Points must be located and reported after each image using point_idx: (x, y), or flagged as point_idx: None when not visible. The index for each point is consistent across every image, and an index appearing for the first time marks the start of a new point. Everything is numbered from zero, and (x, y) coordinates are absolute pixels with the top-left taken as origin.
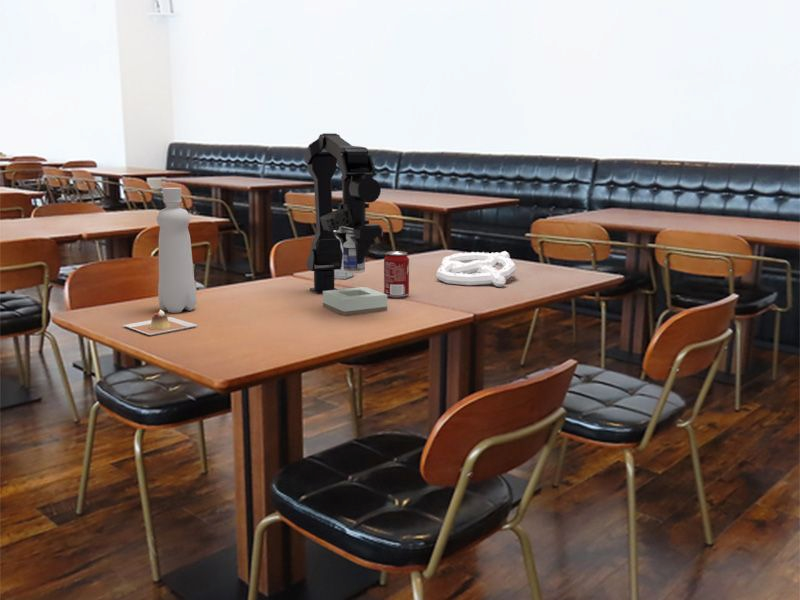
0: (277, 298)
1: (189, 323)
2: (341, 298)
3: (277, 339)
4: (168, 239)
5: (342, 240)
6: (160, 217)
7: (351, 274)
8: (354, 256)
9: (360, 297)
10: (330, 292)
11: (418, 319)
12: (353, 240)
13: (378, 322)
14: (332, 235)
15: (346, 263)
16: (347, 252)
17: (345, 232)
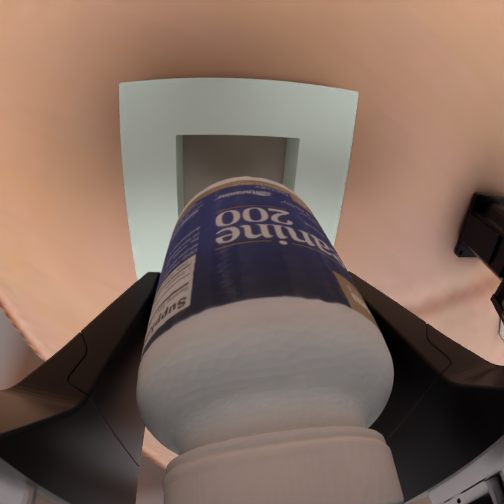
0: (497, 65)
1: None
2: (147, 80)
3: None
4: None
5: (454, 372)
6: None
7: (501, 333)
8: (159, 290)
9: (127, 168)
10: (309, 101)
11: (27, 266)
12: (13, 411)
13: (18, 154)
14: None
15: (226, 203)
16: (210, 267)
17: (472, 466)
